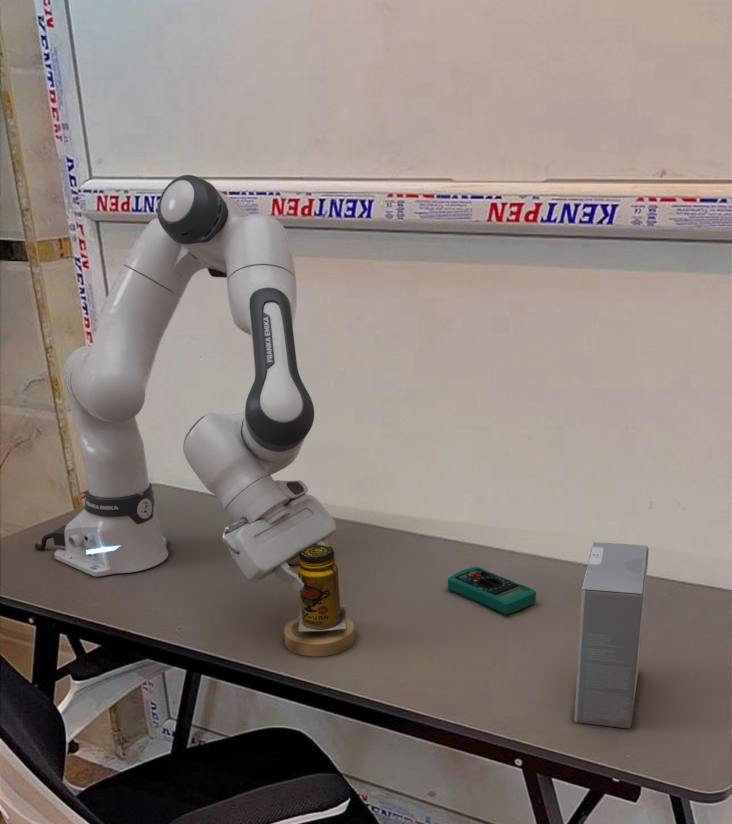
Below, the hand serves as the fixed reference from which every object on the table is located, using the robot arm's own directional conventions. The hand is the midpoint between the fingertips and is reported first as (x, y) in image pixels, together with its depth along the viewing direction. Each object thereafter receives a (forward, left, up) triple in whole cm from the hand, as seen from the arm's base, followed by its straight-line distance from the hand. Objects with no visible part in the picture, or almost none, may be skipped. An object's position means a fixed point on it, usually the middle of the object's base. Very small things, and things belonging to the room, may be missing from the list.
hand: (317, 579), depth 148 cm
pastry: (-21, +26, -11) cm, 35 cm away
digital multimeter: (+17, +26, -11) cm, 33 cm away
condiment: (0, +1, -7) cm, 7 cm away
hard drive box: (+45, +4, -11) cm, 46 cm away
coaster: (0, 0, -10) cm, 10 cm away
